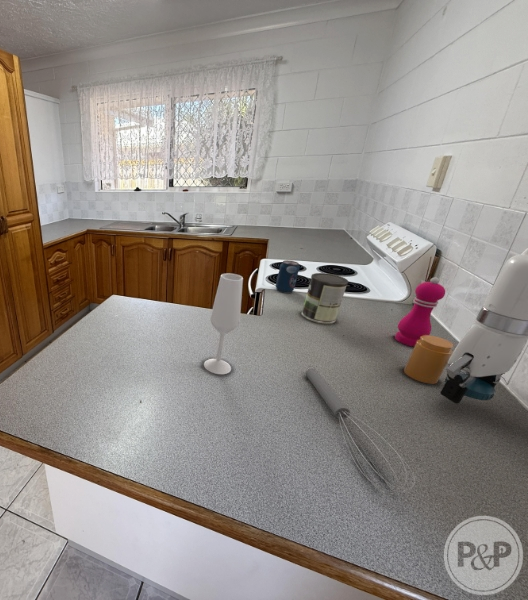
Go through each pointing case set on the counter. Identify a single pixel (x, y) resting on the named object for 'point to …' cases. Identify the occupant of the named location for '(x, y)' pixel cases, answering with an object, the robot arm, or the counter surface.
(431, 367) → the jar
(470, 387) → the lid
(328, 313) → the coffee can
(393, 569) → the counter surface
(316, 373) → the kitchen whisk
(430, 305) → the pepper mill
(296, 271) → the soda can
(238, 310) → the champagne flute
